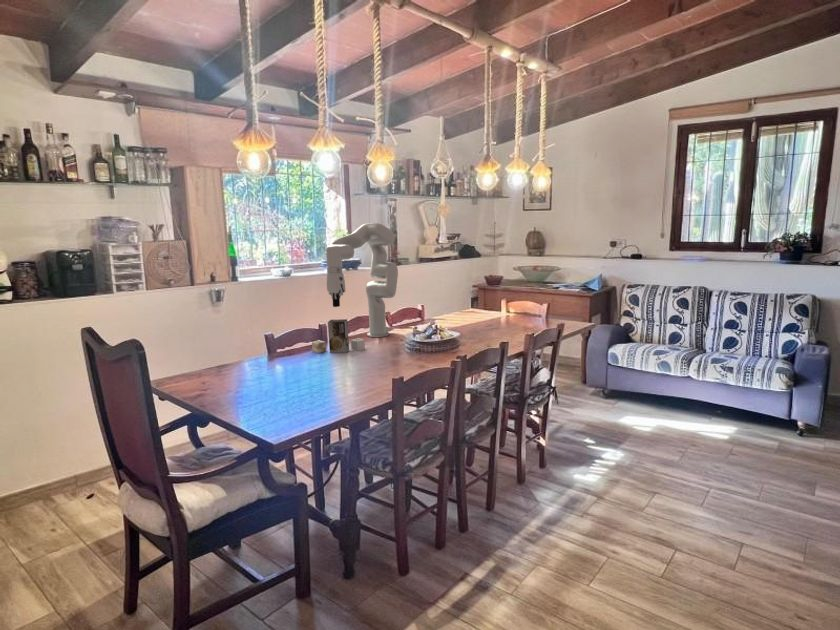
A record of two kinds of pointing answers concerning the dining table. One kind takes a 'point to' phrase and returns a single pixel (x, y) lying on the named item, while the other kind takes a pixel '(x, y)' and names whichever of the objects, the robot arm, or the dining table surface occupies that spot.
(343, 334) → the coffee box
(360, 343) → the grey block marked
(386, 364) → the dining table surface
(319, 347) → the birch block marked
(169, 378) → the dining table surface
